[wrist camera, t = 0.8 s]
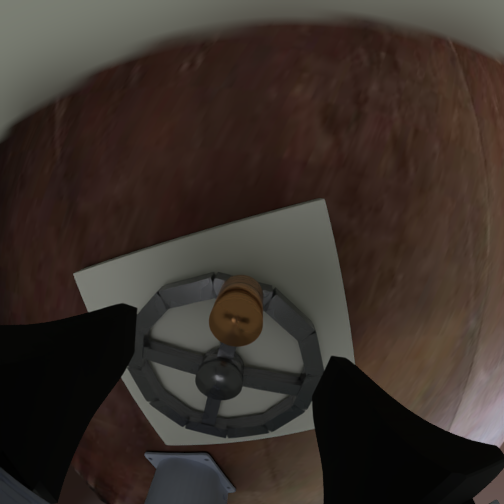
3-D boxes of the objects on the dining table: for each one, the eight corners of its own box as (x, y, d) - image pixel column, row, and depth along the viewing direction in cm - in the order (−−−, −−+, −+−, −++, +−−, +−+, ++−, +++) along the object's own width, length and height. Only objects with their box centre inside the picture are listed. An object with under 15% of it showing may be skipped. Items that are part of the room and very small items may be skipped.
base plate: (355, 405, 21) (359, 416, 19) (170, 434, 22) (166, 445, 21) (319, 198, 17) (324, 199, 15) (83, 268, 19) (72, 274, 17)
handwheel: (284, 437, 19) (287, 480, 15) (132, 400, 19) (111, 437, 15) (350, 294, 16) (377, 329, 12) (143, 241, 16) (104, 260, 12)
